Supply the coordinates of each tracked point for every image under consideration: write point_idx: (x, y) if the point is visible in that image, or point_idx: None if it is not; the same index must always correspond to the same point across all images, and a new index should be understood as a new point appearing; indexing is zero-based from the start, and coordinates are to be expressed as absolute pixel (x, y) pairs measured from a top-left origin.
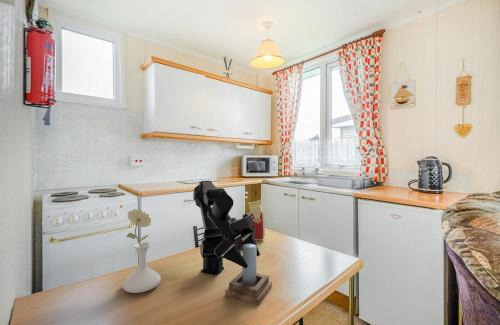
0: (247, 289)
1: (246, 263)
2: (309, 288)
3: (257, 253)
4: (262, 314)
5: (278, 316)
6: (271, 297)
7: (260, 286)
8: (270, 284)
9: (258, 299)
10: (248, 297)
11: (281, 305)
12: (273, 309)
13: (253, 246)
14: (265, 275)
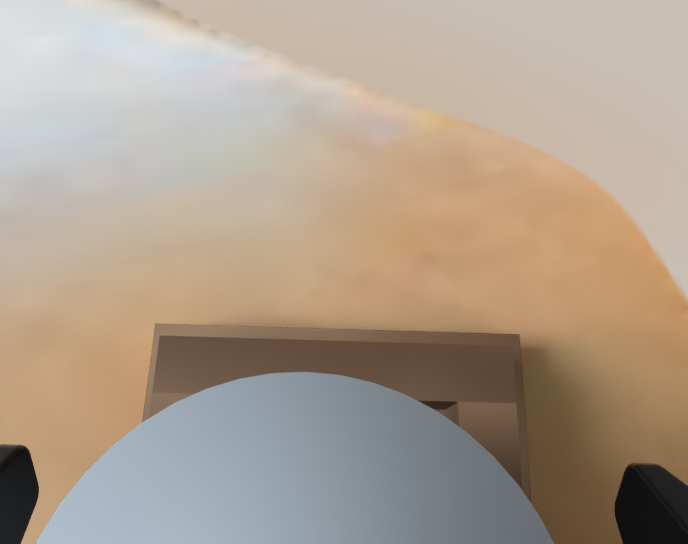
0: (517, 469)
1: (676, 496)
2: (102, 44)
3: (5, 502)
4: (596, 275)
5: (554, 166)
6: (351, 281)
7: (417, 344)
8: (199, 327)
9: (516, 337)
10: (523, 446)
11: (421, 180)
12: (497, 219)
13: (241, 504)
14: (157, 376)
